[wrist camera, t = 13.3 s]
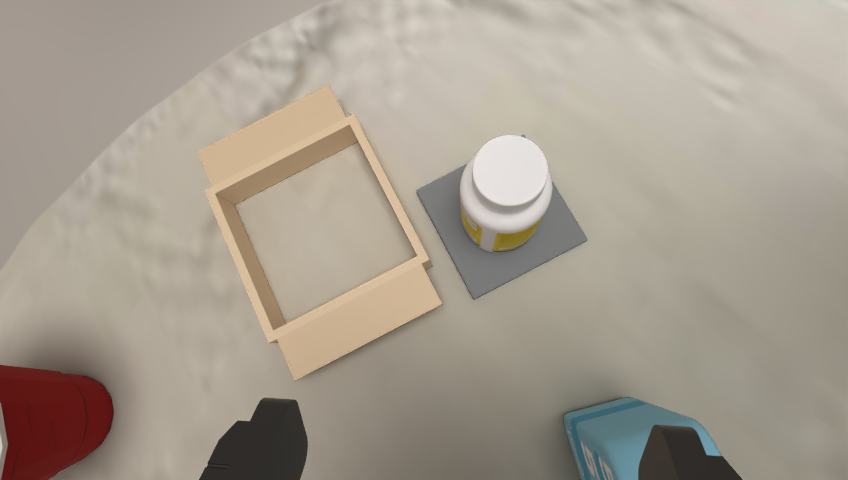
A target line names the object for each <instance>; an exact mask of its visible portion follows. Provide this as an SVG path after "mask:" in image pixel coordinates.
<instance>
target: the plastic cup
mask: <svg viewBox="0 0 848 480" xmlns="http://www.w3.org/2000/svg"><path fill="white" fill-rule="evenodd" d="M112 418H113V408H112V401H111V397H110V396H109V394H108V392H107V391H106V389H105V387H104V386H103V385H101V384H100V383H98V382H97V381H95V380H94V379H92V378H88V377H87V376H79V375H71V374H62V373H60V372H57V371H48V370H40V369H31V368H22V367H13V366H4V365H0V480H48V479H50V478H51V477H53V476H54V475H56V474H57V473H58V472H59V471H61V470H63V469H65V468H67V467H69V466H71V465H72V464H74V463H76V462H78V461H80V460H82V459H83V458H85V457H86V456H87V455H88V454H90V453H91V452H92V451H93V450H95V449H96V448H97V447H98V446H99V445H101V444H102V442H103V440H104V439H105V437H106V435H107V434H108V432H109V430H110V427H111V422H112Z"/></svg>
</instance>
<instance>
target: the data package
mask: <svg viewBox="0 0 848 480" xmlns="http://www.w3.org/2000/svg"><path fill="white" fill-rule="evenodd" d="M564 425H565V430H566V433H567V437H568V440H569V443H570V446H571V449H572V453H573V456H574V459H575V462H576V465H577V469H578V472H579V475H580V478H581V480H638V468H639V463H640V460H641V457H642V454H643V451H644V449H645V446H646V443H647V440H648V437H649V435H650V432H651V429H652V427H653V426H654V425H672V426H687V427H693V428H694V429H695V430H696V432H697V433H698V435H699V437H700V440H701V442H702V445H703V447H704V450H705V452H706V455H712V456H721V454H720V452H719V450H718V448H717V446H716V444H715V443H714V441H713V439H712V438H711V436H710V435H709V433H708V432H707V431H706V430H705V428H704V427H703V426H702V425H701V424H700V423H698V422H697V421H696V420H694V419H692V418H689V417H686V416H683V415H680V414H678V413H675V412H672V411H669V410H666V409H663V408H660V407H657V406H654V405H652V404H649V403H646V402H643V401H640V400H637V399H634V398H631V397H626V398H622V399H618V400H615V401H611V402H607V403H603V404H600V405H596V406H592V407H589V408H585V409H581V410H577V411H574V412H570V413H567V414H565V415H564Z"/></svg>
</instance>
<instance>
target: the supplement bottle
mask: <svg viewBox="0 0 848 480" xmlns="http://www.w3.org/2000/svg"><path fill="white" fill-rule="evenodd" d="M551 196H552V179H551V175H550V172H549V170H548V164H547V160H546V158H545V155H544V154H543V152H542V150H541V149H540V148H539V147H538V146H537V145H536V144H535V143H533V142H532V141H530V140H528V139H527V138H524V137H521V136H516V135H504V136H499V137H496V138H494V139H492V140H490V141H488V142H487V143H486V144H484V145H483V146H482V147H481V149H480V150H479V151H478V153H477V154H476V155H475V156H474V157H473V158H472V159H471V160H470V161H469V162H468V164H467V166H466V167H465V169H464V172H463V174H462V178H461V182H460V204H461V220H462V225H463V228H464V230H465V232H466V234H467V236H468V237H469V239H470V240H471V241H472V242H473V243H474V244H475V245H476V246H478V247H479V248H481V249H483V250H485V251H488V252H493V253H507V252H511V251H514V250H516V249H518V248H520V247H522V246H523V245H524V244H525V243H526V242H527V241H528V240H529V239H530V238H531V237H532V235H533V234H534V232H535V230H536V228H537V226H538V225H539V223H540V221H541V219H542V218H543V216H544V214H545V212H546V210H547V208H548V206H549V203H550V200H551Z"/></svg>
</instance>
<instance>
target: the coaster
mask: <svg viewBox="0 0 848 480" xmlns="http://www.w3.org/2000/svg"><path fill="white" fill-rule="evenodd" d="M521 137H524V138H526V137H525V135H522V136H521ZM466 166H467V164H466V165H464V166H462V167H460V168H458V169H456V170H455V171H453V172H451V173H449V174H447V175H445V176H443V177H441V178H439V179H437V180H435V181H433V182H431V183H429V184H427V185H426V186H424V187H422V188H420V189H418V190H416V191H417V194H418V196H419V197H420V199H421V201H422V203H423V205H424V207H425V209H426V211H427V212H428V214H429V216H430V218H431V220H432V222H433V224H434V226H435V228H436V229H437V231H438V233H439V235H440V237H441V239H442V241H443V243H444V244H445V246H446V248H447V250H448V252H449V254H450V256H451V258H452V259H453V261H454V263H455V265H456V267H457V269H458V271H459V273H460V275H461V276H462V278H463V280H464V282H465V284H466V286H467V288H468V290H469V291H470V293H471V295H472V297H473V299H476V298H478V297H480V296H482V295H484V294H486V293H488V292H490V291H491V290H493V289H495V288H497V287H499V286H501V285H503V284H505V283H507V282H509V281H511V280H513V279H514V278H516V277H518V276H520V275H522V274H524V273H526V272H528V271H530V270H532V269H534V268H536V267H537V266H539V265H541V264H543V263H545V262H547V261H549V260H551V259H553V258H555V257H557V256H559V255H561V254H562V253H564V252H566V251H568V250H570V249H572V248H574V247H576V246H578V245H580V244H582V243H584V242H585V241H587V240H588V239H587V238H586V236H585V234H584V233H583V231H582V229H581V228H580V226H579V224H578V223H577V221H576V219H575V218H574V216H573V215H572V213H571V211H570V210H569V208H568V206H567V205H566V203H565V201H564V200H563V198H562V196H561V195H560V193H559V191H558V190H557V188H556V187H555V185H554V183H553V182H552V196H551V200H550V203H549V206H548V208H547V210H546V212H545V214H544V216H543V218H542V219H541V221H540V223H539V225H538V226H537V228H536V230H535V232H534V234H533V235H532V237H531V238H530V239H529V240H528V241H527V242H526V243H525V244H524V245H523V246H522V247H520V248H518V249H516V250H514V251H511V252H507V253H493V252H488V251H485V250H483V249H481V248H479V247H478V246H476V245H475V244H474V243H473V242H472V241H471V240H470V239H469V237H468V236H467V234H466V232H465V230H464V228H463V225H462V220H461V204H460V182H461V178H462V174H463V172H464V169H465V167H466Z"/></svg>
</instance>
